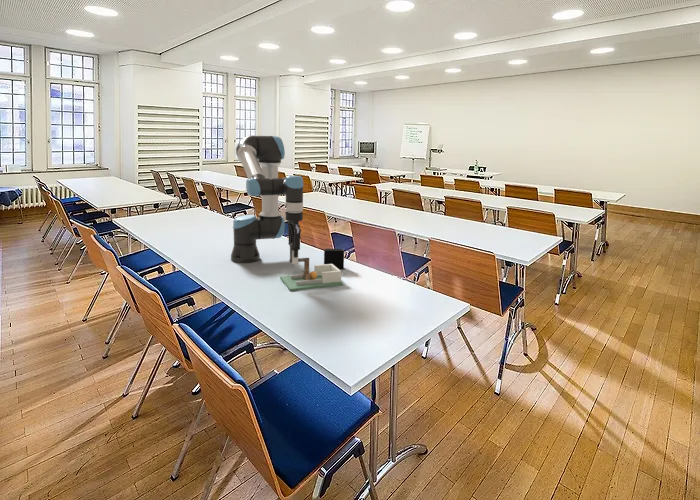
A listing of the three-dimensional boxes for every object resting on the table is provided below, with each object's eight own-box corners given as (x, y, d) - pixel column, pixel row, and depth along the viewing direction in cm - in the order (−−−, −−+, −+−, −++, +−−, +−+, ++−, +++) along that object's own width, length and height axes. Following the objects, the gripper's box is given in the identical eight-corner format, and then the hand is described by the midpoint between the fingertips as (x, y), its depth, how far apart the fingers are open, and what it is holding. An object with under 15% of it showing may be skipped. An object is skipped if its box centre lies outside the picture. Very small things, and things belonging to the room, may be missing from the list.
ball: (306, 275, 205) (311, 268, 205) (312, 279, 207) (317, 273, 207) (308, 278, 202) (313, 271, 202) (315, 282, 203) (320, 275, 203)
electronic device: (323, 267, 228) (324, 248, 225) (343, 267, 229) (343, 248, 226) (324, 269, 224) (324, 250, 221) (343, 269, 225) (344, 250, 222)
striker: (288, 278, 203) (288, 242, 199) (306, 277, 207) (307, 240, 202) (291, 282, 198) (291, 245, 193) (310, 281, 201) (311, 244, 197)
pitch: (280, 278, 208) (280, 266, 206) (329, 273, 217) (330, 262, 216) (289, 291, 192) (289, 277, 190) (343, 285, 201) (343, 273, 200)
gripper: (281, 208, 199) (281, 258, 205) (290, 215, 184) (290, 268, 190) (297, 208, 202) (297, 257, 208) (307, 214, 187) (307, 267, 193)
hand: (294, 262), depth 199 cm, fingers closed on striker, 3 cm apart
